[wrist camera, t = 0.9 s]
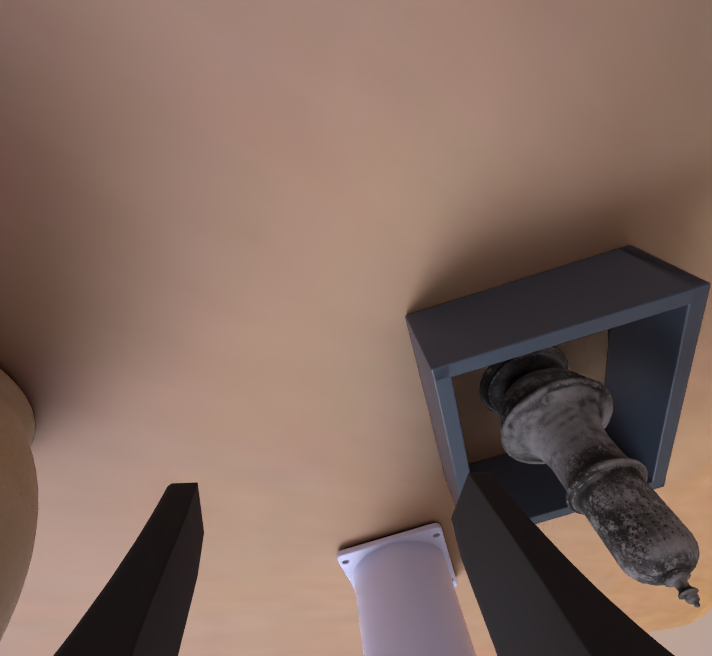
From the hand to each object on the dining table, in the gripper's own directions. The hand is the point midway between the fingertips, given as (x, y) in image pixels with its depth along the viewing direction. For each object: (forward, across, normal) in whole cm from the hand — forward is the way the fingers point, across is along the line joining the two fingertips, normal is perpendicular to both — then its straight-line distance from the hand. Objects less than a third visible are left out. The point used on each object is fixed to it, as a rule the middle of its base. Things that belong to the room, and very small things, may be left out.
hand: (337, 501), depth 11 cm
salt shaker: (+10, -12, +4) cm, 17 cm away
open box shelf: (+10, -12, +4) cm, 16 cm away
